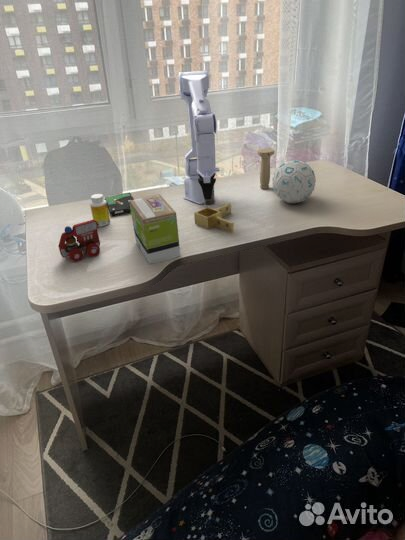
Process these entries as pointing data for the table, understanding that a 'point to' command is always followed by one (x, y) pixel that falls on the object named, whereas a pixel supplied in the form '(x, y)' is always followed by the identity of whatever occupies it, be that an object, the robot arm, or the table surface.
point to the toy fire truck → (80, 241)
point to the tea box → (155, 228)
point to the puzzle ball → (294, 181)
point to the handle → (265, 166)
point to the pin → (210, 201)
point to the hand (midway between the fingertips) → (207, 196)
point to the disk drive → (119, 204)
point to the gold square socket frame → (214, 218)
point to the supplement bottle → (99, 210)
